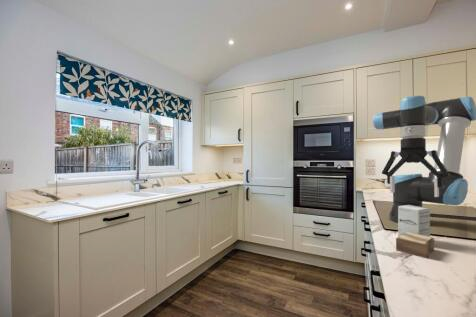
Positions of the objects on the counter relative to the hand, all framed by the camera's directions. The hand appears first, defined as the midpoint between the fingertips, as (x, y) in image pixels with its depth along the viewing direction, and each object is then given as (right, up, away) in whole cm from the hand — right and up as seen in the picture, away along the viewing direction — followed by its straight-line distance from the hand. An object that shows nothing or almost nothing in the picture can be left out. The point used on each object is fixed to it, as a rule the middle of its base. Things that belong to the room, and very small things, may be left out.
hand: (413, 194), depth 86 cm
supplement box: (0, -18, 0) cm, 18 cm away
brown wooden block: (-6, -17, -9) cm, 21 cm away
